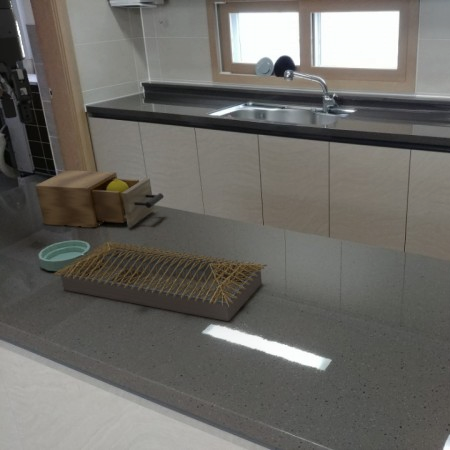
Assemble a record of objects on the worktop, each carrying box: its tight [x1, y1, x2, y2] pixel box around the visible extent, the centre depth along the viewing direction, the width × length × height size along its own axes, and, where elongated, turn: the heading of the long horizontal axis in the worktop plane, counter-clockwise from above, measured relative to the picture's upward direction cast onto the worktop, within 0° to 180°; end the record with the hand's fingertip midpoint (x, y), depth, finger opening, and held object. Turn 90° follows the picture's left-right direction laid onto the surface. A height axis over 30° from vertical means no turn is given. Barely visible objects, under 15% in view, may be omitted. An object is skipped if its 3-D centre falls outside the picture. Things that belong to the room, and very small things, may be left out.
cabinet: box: [34, 169, 118, 229], centre depth 127 cm, size 14×12×10 cm
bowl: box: [38, 239, 92, 272], centre depth 106 cm, size 9×9×2 cm
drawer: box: [90, 177, 164, 227], centre depth 124 cm, size 17×10×8 cm, turn 76°
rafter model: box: [52, 241, 268, 322], centre depth 95 cm, size 35×14×6 cm, turn 69°
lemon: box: [106, 178, 129, 211], centre depth 124 cm, size 6×6×8 cm
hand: (18, 120), depth 108 cm, fingers open, 8 cm apart
